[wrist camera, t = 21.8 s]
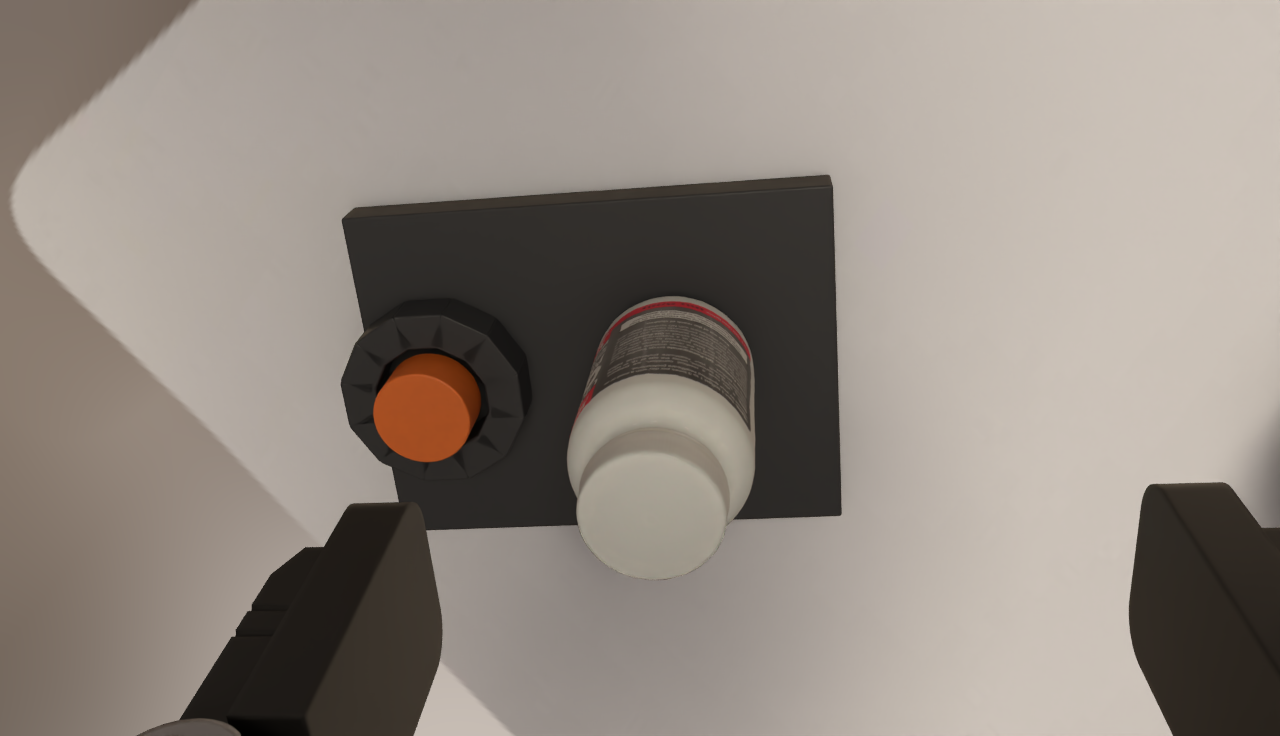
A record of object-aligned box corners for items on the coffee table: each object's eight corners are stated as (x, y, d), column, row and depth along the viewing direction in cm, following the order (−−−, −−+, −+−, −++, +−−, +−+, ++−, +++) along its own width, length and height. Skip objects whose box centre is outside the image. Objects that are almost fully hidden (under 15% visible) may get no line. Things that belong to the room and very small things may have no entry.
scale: (400, 512, 44) (376, 556, 41) (338, 208, 39) (307, 234, 36) (838, 496, 42) (845, 541, 39) (830, 174, 37) (836, 198, 34)
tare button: (397, 440, 39) (382, 464, 38) (380, 355, 38) (364, 376, 36) (488, 436, 39) (476, 461, 37) (474, 350, 38) (461, 371, 36)
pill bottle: (576, 311, 38) (523, 448, 29) (733, 275, 37) (728, 406, 28) (620, 451, 40) (583, 620, 31) (770, 420, 39) (776, 586, 30)
